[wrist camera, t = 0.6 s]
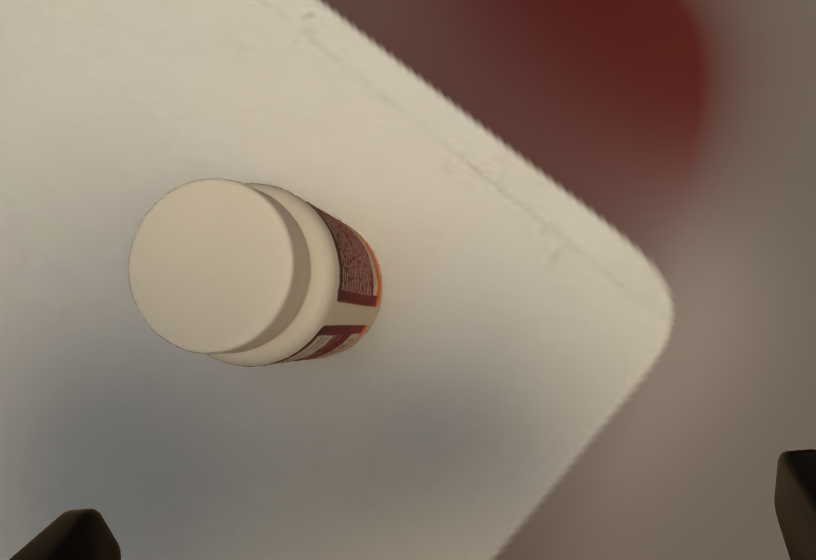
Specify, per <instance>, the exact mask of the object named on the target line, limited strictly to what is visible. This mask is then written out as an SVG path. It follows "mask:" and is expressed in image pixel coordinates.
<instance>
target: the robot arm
mask: <svg viewBox="0 0 816 560" xmlns="http://www.w3.org/2000/svg"><path fill="white" fill-rule="evenodd" d="M775 509H776V514H777V518H778V521H779V524H780V528H781V530H782V534H783V537H784V540H785V543H786V547H787V550H788V553H789V556H790V559H791V560H816V450H812V449H809V450H797V451H786V452H783V453H782V454H781V455H780V457H779V459H778V467H777V478H776V488H775ZM9 560H121V552H120V547H119V545H118V543H117V541H116V539H115V538H114V536H113V534H112V532H111V531H110V529H109V527H108V526H107V524H106V522H105V521H104V519H103V517H102V516H101V514H100V513H99V512H98V511H96V510H95V509H81V510H70V511H67V512H65V513H63V514H62V515H61V516H59V517H58V518H57V519H56V520H55V521H53V522H52V523H51V524H50V525H49V526H48V527H46V528H45V529H44V530H43V531H42V532H41V533H39V534H38V535H37V536H36V537H35V538H34V539H32V540H31V541H30V542H29V543H28V544H27V545H26V546H24V547H23V548H22V549H21V550H20V551H19V552H17V553H16V554H15V555H14V556H13V557H12V558H10V559H9Z"/></svg>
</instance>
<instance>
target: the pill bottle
mask: <svg viewBox="0 0 816 560" xmlns="http://www.w3.org/2000/svg"><path fill="white" fill-rule="evenodd" d="M128 269H129V283H130V288H131V292H132V295H133V298H134V301H135V304H136V306H137V308H138V310H139V312H140V313H141V315H142V317H143V318H144V320H145V321H146V322H147V324H148V325H149V326H150V327H151V328H152V329H153V330H154V331H155V332H156V333H157V334H158V335H159V336H160V337H162V338H163V339H165V340H166V341H168V342H169V343H171V344H173V345H174V346H176V347H179V348H182V349H184V350H187V351H190V352H195V353H203V354H207V355H208V356H210V357H212V358H214V359H217V360H219V361H222V362H225V363H228V364H232V365H239V366H245V367H254V366H266V365H270V364H276V363H284V362H290V361H300V360H309V359H318V358H324V357H328V356H332V355H335V354H338V353H340V352H342V351H344V350H346V349H348V348H349V347H351V346H352V345H353V344H355V343H356V342H357V341H358V340H359V339H360V338H361V337H362V336H363V335H364V334H365V333H366V332H367V330H368V329H369V327H370V326H371V324H372V323H373V321H374V319H375V317H376V315H377V313H378V310H379V306H380V303H381V296H382V277H381V272H380V267H379V264H378V261H377V259H376V257H375V254H374V252H373V251H372V249H371V248H370V246H369V245H368V243H367V242H366V241H365V240H364V239H363V237H362V236H361V235H359V234H358V233H357V232H356V231H355V230H353V229H352V228H351V227H349V226H347V225H346V224H344V223H343V222H341V221H339V220H337V219H336V218H334V217H332V216H330V215H328V214H327V213H325V212H323V211H322V210H320V209H318V208H316V207H315V206H313V205H311V204H309V203H308V202H306V201H304V200H303V199H301V198H299V197H297V196H296V195H294V194H292V193H291V192H289V191H286V190H284V189H281V188H279V187H276V186H272V185H265V184H255V183H249V184H242V183H239V182H236V181H232V180H225V179H203V180H197V181H193V182H189V183H187V184H184V185H182V186H180V187H178V188H175V189H174V190H172V191H170V192H169V193H167V194H166V195H165V196H163V197H162V198H161V199H160V200H159V201H157V202H156V203H155V204H154V205H153V207H152V208H151V209H150V210H149V211H148V213H147V214H146V215H145V217H144V218H143V220H142V221H141V223H140V225H139V227H138V229H137V231H136V234H135V236H134V239H133V242H132V246H131V250H130V256H129V268H128Z"/></svg>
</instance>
